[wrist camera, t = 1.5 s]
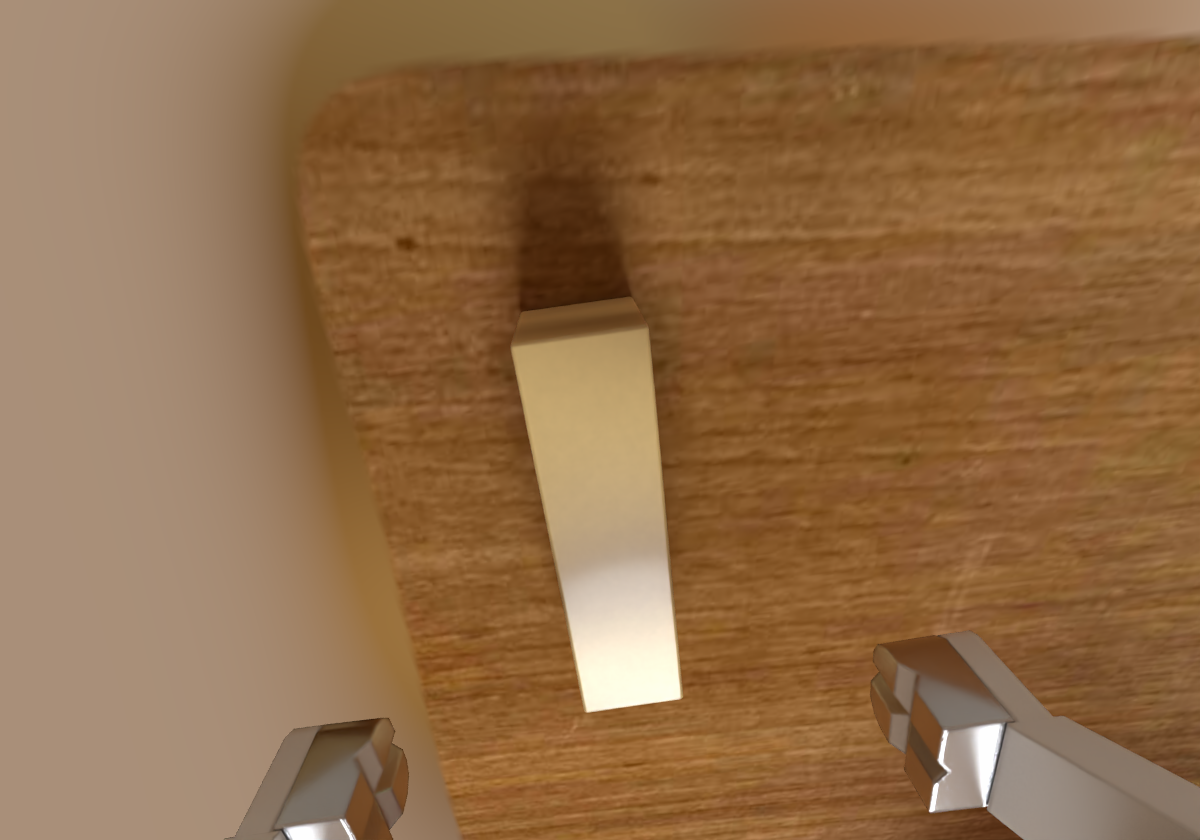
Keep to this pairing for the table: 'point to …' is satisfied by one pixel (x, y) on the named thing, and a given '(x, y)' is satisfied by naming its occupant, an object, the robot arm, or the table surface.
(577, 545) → the beige rectangular block
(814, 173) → the table surface
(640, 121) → the table surface
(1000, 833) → the table surface
